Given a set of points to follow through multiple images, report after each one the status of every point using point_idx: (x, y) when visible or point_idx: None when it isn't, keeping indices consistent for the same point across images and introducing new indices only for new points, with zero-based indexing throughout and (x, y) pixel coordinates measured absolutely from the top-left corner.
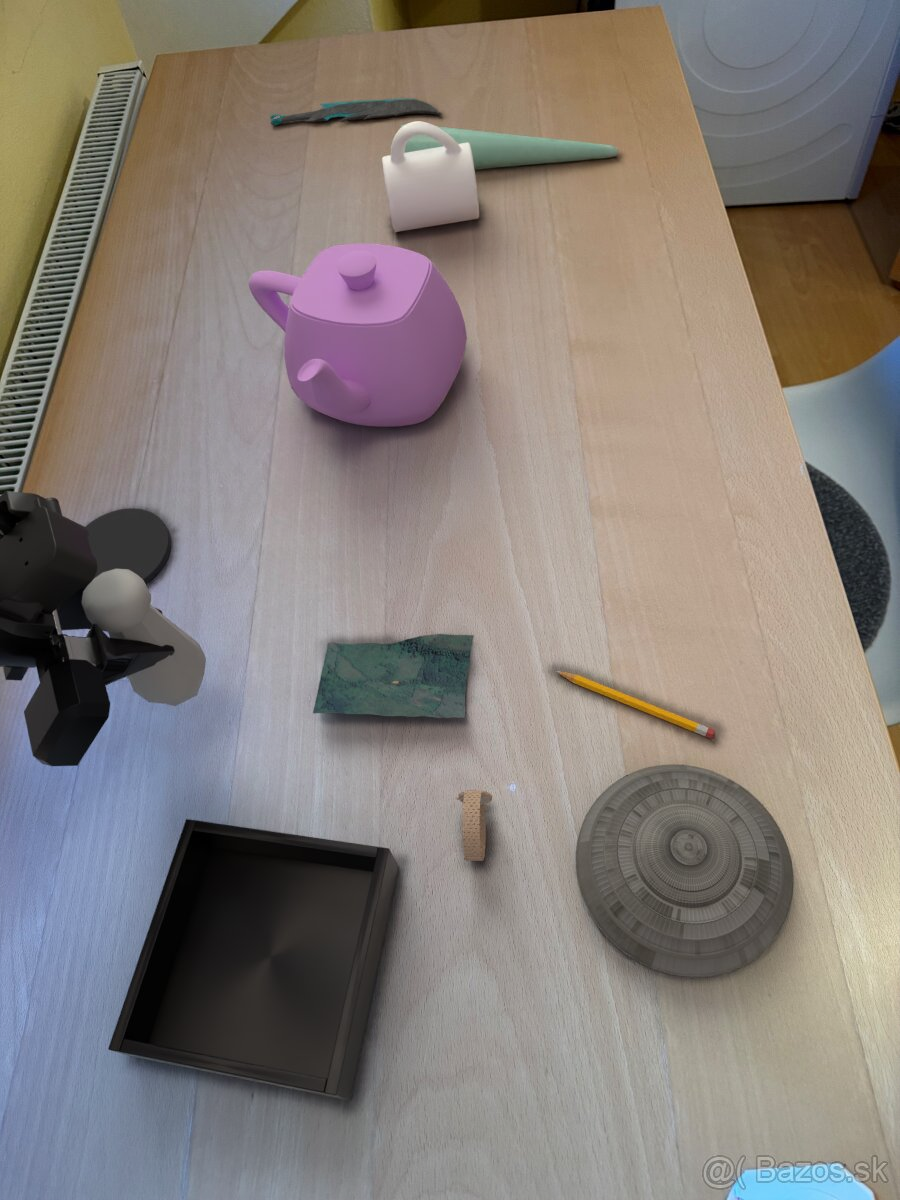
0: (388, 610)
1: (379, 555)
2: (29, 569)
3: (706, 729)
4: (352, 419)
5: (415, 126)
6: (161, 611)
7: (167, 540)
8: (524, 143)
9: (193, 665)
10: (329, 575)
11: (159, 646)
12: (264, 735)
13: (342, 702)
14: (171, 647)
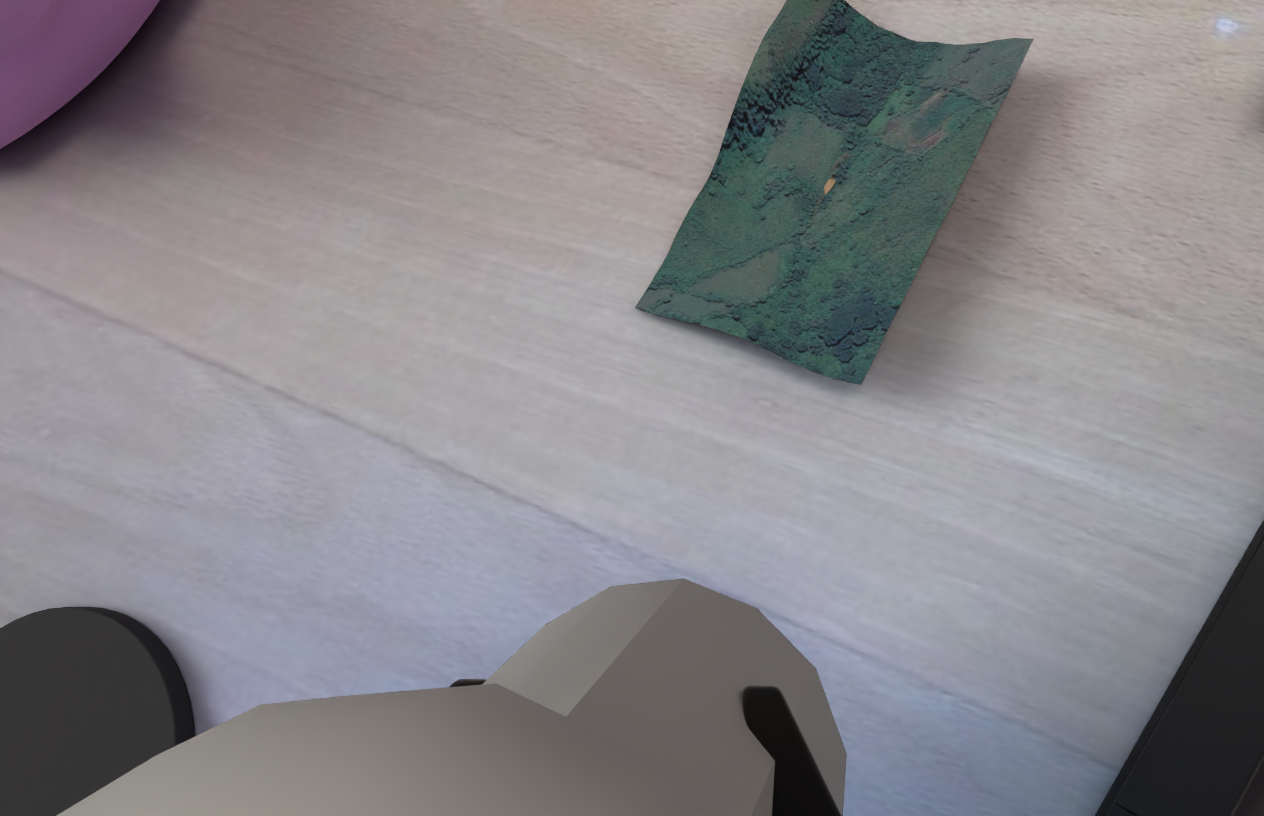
0: (615, 155)
1: (459, 134)
2: None
3: None
4: (77, 52)
5: None
6: (464, 680)
7: (102, 617)
8: None
9: (760, 634)
10: (446, 256)
11: (781, 778)
12: (822, 551)
13: (850, 307)
14: (762, 698)
